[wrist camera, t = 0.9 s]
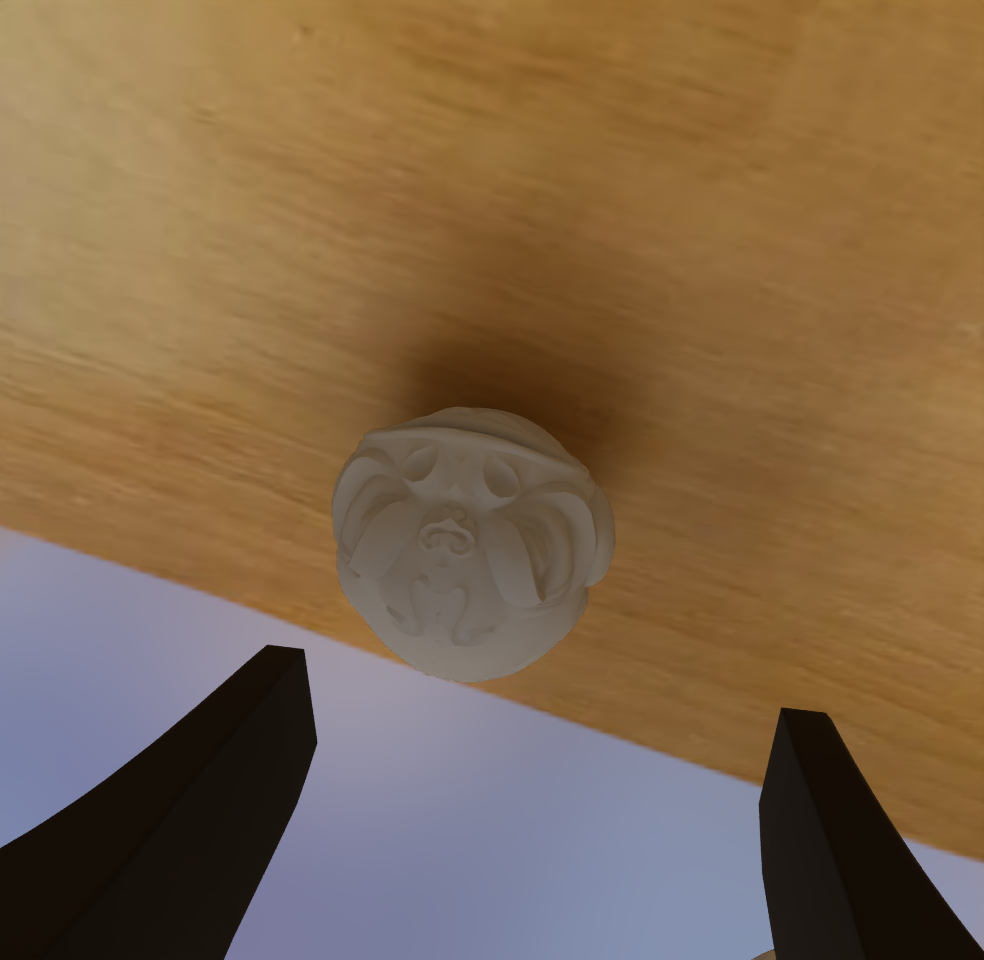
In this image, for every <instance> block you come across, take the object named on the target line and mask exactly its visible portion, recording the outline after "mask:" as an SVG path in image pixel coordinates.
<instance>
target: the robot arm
mask: <svg viewBox="0 0 984 960" xmlns="http://www.w3.org/2000/svg"><path fill="white" fill-rule="evenodd" d="M316 746H317V736H316V729H315V722H314V715H313V708H312V701H311V694H310V687H309V680H308V673H307V666H306V659H305V653H304V649H299V648H291V647H282V646H274V645H266V646H265V647H264V648H263V649H262V650H260V651H259V652H258V653H257V654H256V655H255V656H253V657H252V658H251V659H250V660H249V661H247V662H246V663H245V664H244V665H243V666H242V667H241V668H240V669H238V670H237V671H236V672H235V673H234V674H233V675H232V676H231V677H229V678H228V679H227V680H226V681H225V682H224V683H223V684H222V685H220V686H219V687H218V688H217V689H216V690H215V691H213V692H212V693H211V694H210V695H209V696H208V697H207V698H205V699H204V700H203V701H202V702H201V703H200V704H199V705H197V707H195V708H194V709H193V710H192V711H190V712H189V713H188V714H187V715H186V716H185V717H183V718H182V719H181V720H180V721H178V722H177V723H176V724H175V725H174V726H173V727H171V728H170V729H169V730H168V731H167V732H165V733H164V734H163V735H162V736H161V737H159V738H158V739H157V740H156V741H155V742H153V743H152V744H151V745H150V746H148V747H147V748H146V749H144V750H143V751H142V752H141V753H139V754H138V755H137V756H135V757H134V758H133V759H131V760H130V761H129V762H128V763H126V764H125V765H124V766H123V767H121V768H120V769H119V770H117V771H116V772H115V773H113V774H112V775H111V776H109V777H108V778H107V779H106V780H104V781H103V782H101V783H100V784H99V785H97V786H96V787H95V788H93V789H92V790H90V791H89V792H88V793H86V794H85V795H84V796H82V797H80V798H79V799H78V800H76V801H75V802H73V803H72V804H70V805H69V806H67V807H66V808H64V809H63V810H61V811H60V812H58V813H57V814H55V815H54V816H52V817H51V818H49V819H47V820H46V821H44V822H43V823H41V824H40V825H38V826H37V827H35V828H33V829H32V830H30V831H29V832H27V833H25V834H23V835H22V836H20V837H18V838H17V839H15V840H13V841H11V842H10V843H8V844H7V845H5V846H3V847H1V848H0V960H224V958H225V956H226V953H227V951H228V949H229V947H230V944H231V942H232V940H233V937H234V935H235V933H236V931H237V929H238V927H239V925H240V923H241V921H242V919H243V917H244V914H245V912H246V910H247V908H248V906H249V904H250V902H251V900H252V898H253V896H254V893H255V892H256V889H257V887H258V885H259V883H260V881H261V879H262V877H263V875H264V873H265V871H266V869H267V867H268V865H269V862H270V860H271V858H272V856H273V854H274V851H275V850H276V848H277V846H278V844H279V841H280V839H281V837H282V835H283V833H284V831H285V828H286V827H287V824H288V822H289V820H290V818H291V816H292V814H293V812H294V809H295V807H296V805H297V803H298V800H299V797H300V794H301V791H302V788H303V785H304V783H305V780H306V777H307V774H308V770H309V767H310V764H311V761H312V758H313V755H314V752H315V748H316ZM759 819H760V841H761V860H762V875H763V881H764V888H765V894H766V901H767V907H768V913H769V919H770V925H771V932H772V938H773V944H774V950H775V956H776V960H984V951H983V950H982V948H981V947H980V946H979V944H978V943H977V942H976V941H975V940H974V938H973V937H972V936H971V934H970V933H969V932H968V931H967V929H966V928H965V927H964V925H963V924H962V923H961V921H960V920H959V919H958V917H957V916H956V915H955V913H954V912H953V911H952V909H951V908H950V907H949V905H948V904H947V902H946V901H945V900H944V898H943V897H942V896H941V894H940V893H939V891H938V890H937V889H936V887H935V886H934V885H933V883H932V882H931V881H930V879H929V878H928V876H927V875H926V873H925V872H924V871H923V869H922V867H921V866H920V865H919V863H918V862H917V860H916V859H915V857H914V856H913V854H912V853H911V851H910V850H909V848H908V847H907V845H906V844H905V842H904V841H903V839H902V838H901V836H900V834H899V833H898V831H897V830H896V828H895V827H894V825H893V824H892V822H891V821H890V819H889V818H888V816H887V815H886V813H885V811H884V810H883V808H882V807H881V805H880V803H879V802H878V800H877V799H876V797H875V795H874V794H873V792H872V790H871V789H870V787H869V785H868V783H867V782H866V780H865V778H864V777H863V775H862V773H861V772H860V770H859V768H858V767H857V765H856V763H855V761H854V760H853V758H852V756H851V754H850V752H849V751H848V749H847V747H846V745H845V743H844V742H843V740H842V738H841V736H840V734H839V732H838V731H837V729H836V727H835V725H834V723H833V721H832V720H831V718H830V717H829V716H828V715H827V714H826V713H823V712H815V711H807V710H799V709H791V708H782V707H781V711H780V715H779V719H778V724H777V728H776V732H775V737H774V741H773V745H772V749H771V754H770V758H769V762H768V767H767V771H766V775H765V780H764V784H763V788H762V792H761V797H760V801H759Z"/></svg>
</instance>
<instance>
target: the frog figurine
mask: <svg viewBox="0 0 984 960" xmlns="http://www.w3.org/2000/svg"><path fill="white" fill-rule="evenodd" d="M332 517H333V527H334V536H335V539H336V542H337V545H338V548H337V567H336V568H337V571H338V577H339V583H340V585H341V587H342V590H343V593H344V594H345V595H346V597H347V598H348V600H349V602H350V603H351V604H352V605H353V606H354V607H355V609H356V610H357V612H358V613H359V614H360V615H361V616H362V617H363V618H364V619H365V621H366V622H367V624H368V625H369V627H370V628H371V629H372V630H373V632H374V633H375V634H376V635H377V636H378V637H379V639H380V640H381V641H382V642H383V643H384V645H385V646H386V647H388V648H389V649H390V650H391V651H393V652H394V653H395V654H396V655H398V656H399V657H400V658H401V659H403V660H404V661H405V662H406V663H408V664H409V665H412V666H413V667H414V668H415V669H417V670H419V671H422V672H423V673H425V674H426V675H429V676H435V677H437V678H441V679H446V680H454V681H457V682H460V681H462V682H465V683H469V682H481V681H486V680H492V679H497V678H502V677H505V676H508V675H511V674H514V673H517V672H519V671H520V670H522V669H523V668H525V667H527V666H528V665H530V664H532V663H533V662H535V661H536V660H537V659H539V658H540V657H541V656H543V655H544V654H545V653H547V652H548V651H549V650H551V649H552V648H553V647H554V646H555V645H556V644H557V643H558V642H560V641H561V640H562V639H563V638H564V637H565V636H566V635H567V634H568V633H569V632H570V631H571V629H572V628H573V627H574V626H575V624H576V623H577V621H578V620H579V618H580V617H581V616H582V614H583V613H584V610H585V608H586V605H587V603H588V588H587V587H590V586H592V585H595V584H596V583H597V582H599V581H600V580H601V579H602V578H603V577H604V576H605V574H606V572H607V571H608V569H609V567H610V563H611V560H612V557H613V553H614V549H615V522H614V515H613V512H612V509H611V507H610V504H609V501H608V498H607V497H606V495H605V493H604V492H603V490H602V489H601V488H600V487H599V486H598V485H597V484H595V483H594V480H593V478H592V477H591V475H590V473H589V470H588V469H587V468H586V467H585V466H584V465H582V464H581V462H580V460H579V459H578V458H577V457H574V456H571V455H570V454H569V453H568V452H567V451H566V450H565V449H564V447H563V446H562V445H561V444H560V443H559V442H558V441H557V440H556V439H555V438H554V437H553V436H552V435H551V434H550V433H548V432H547V431H546V430H544V429H543V428H542V427H540V426H538V425H537V424H535V423H533V422H532V421H530V420H528V419H526V418H523V417H521V416H519V415H516V414H513V413H510V412H507V411H502V410H497V409H490V408H468V407H452V408H446V409H443V410H440V411H437V412H435V413H432V414H430V415H428V416H425V417H418V418H415V419H412V420H409V421H406V422H404V423H401V424H397V425H392V426H389V427H386V428H378V429H372V430H370V431H368V432H367V433H366V434H365V435H364V440H362V441H360V443H359V445H358V447H357V450H356V452H354V453H353V454H352V456H351V457H350V458H349V459H348V461H347V462H346V463H345V464H344V466H343V468H342V470H341V472H340V474H339V475H338V477H337V480H336V483H335V487H334V493H333V499H332Z"/></svg>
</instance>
